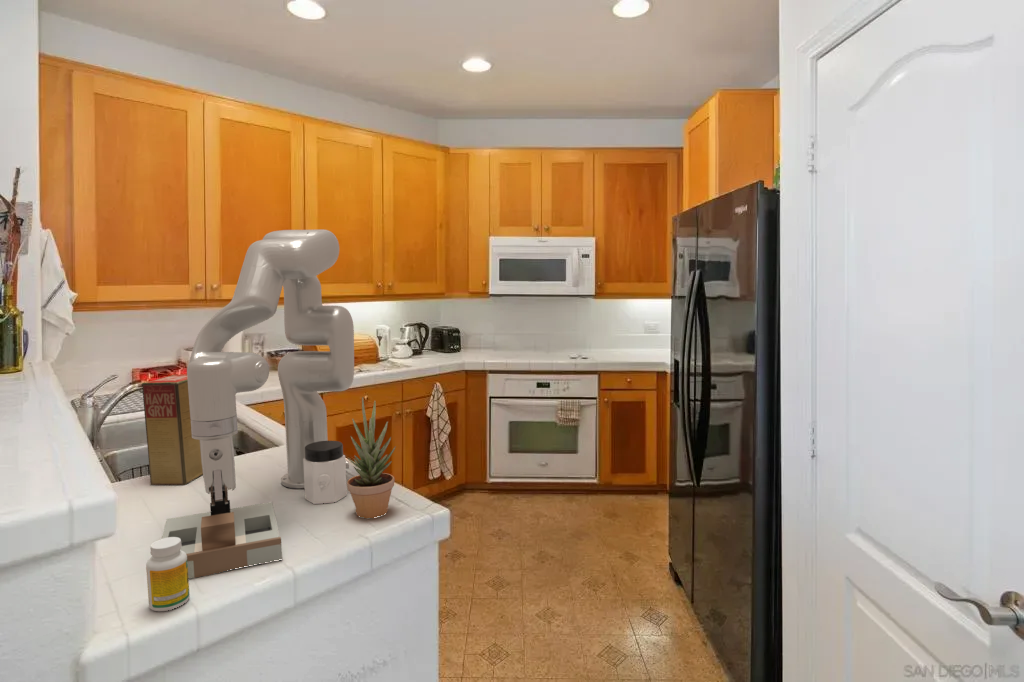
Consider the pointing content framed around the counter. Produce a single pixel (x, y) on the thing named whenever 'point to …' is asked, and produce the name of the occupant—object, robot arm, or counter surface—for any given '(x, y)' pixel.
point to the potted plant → (371, 471)
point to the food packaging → (170, 432)
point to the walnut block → (218, 531)
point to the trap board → (252, 545)
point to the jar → (324, 472)
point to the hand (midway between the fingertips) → (221, 523)
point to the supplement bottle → (167, 575)
